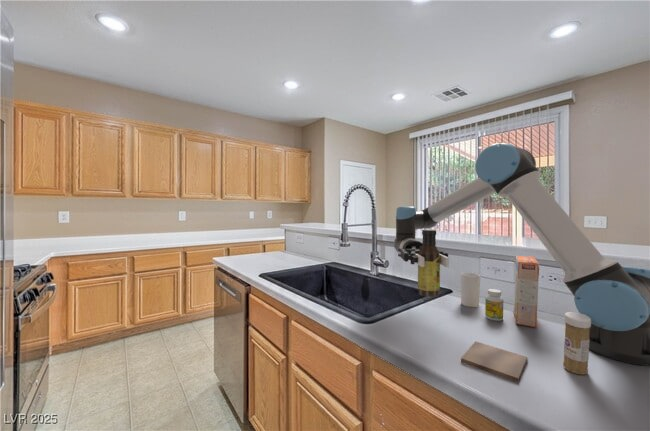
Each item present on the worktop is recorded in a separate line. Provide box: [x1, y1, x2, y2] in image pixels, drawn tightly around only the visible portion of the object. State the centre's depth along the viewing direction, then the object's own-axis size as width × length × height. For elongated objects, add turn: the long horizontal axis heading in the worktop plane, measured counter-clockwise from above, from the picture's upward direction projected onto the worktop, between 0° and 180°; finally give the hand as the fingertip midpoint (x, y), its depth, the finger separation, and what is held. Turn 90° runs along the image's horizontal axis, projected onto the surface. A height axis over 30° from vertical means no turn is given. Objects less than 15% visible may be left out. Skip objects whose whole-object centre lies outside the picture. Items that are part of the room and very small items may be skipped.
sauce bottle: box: [417, 229, 441, 298], centre depth 86 cm, size 6×6×20 cm
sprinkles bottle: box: [562, 311, 591, 375], centre depth 67 cm, size 5×5×14 cm
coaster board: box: [460, 341, 528, 383], centre depth 71 cm, size 12×12×1 cm
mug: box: [460, 271, 481, 308], centre depth 112 cm, size 10×7×12 cm, turn 129°
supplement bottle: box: [484, 288, 504, 322], centre depth 98 cm, size 5×5×10 cm
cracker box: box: [513, 255, 540, 328], centre depth 97 cm, size 14×6×21 cm, turn 148°
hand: (435, 262), depth 81 cm, fingers closed on sauce bottle, 6 cm apart
